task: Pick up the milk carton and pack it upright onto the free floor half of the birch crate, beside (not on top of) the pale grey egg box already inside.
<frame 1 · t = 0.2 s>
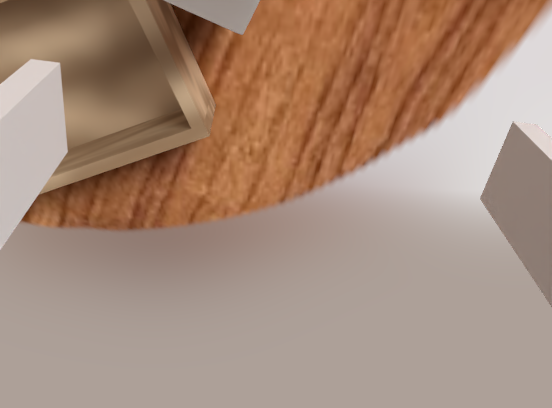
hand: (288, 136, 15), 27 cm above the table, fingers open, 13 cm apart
crate: (76, 63, 41), on the table
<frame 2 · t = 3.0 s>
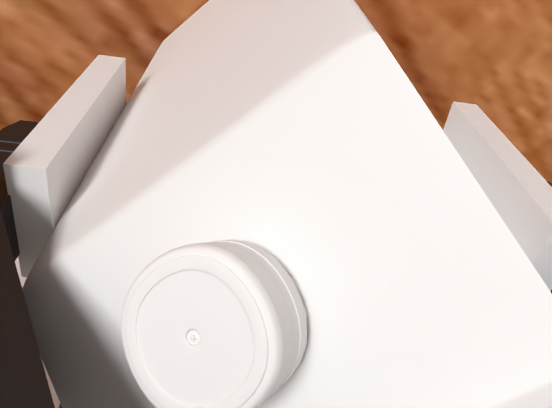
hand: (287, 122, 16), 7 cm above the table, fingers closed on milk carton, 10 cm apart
milk carton: (280, 54, 22), on the table, touching gripper
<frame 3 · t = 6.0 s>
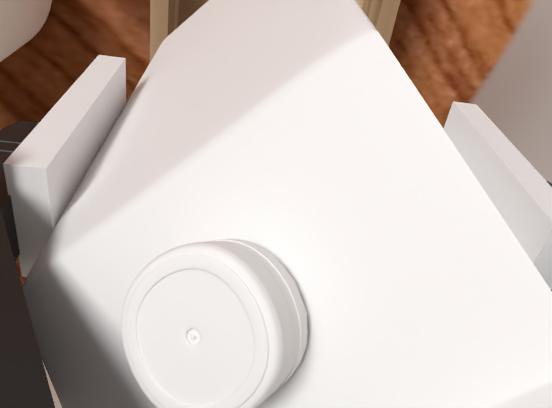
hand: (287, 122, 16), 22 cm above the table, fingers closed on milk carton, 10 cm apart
crate: (268, 25, 35), on the table
milk carton: (280, 54, 22), point 15 cm above the table, touching gripper
when the fingers open (9 cm above the table, at t = 9.2 s): milk carton stays where it is, resting on crate.
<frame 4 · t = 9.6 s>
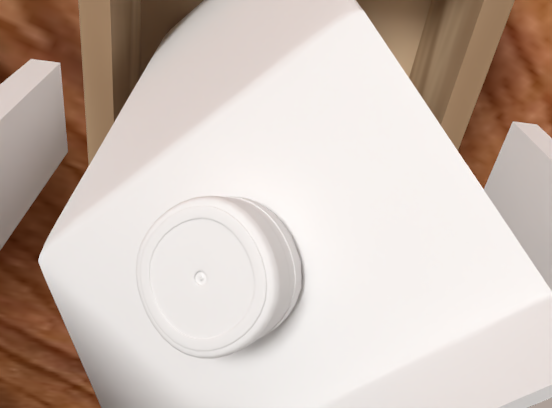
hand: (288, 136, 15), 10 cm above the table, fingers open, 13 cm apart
crate: (271, 94, 25), on the table
milk carton: (279, 47, 23), point 1 cm above the table, touching crate
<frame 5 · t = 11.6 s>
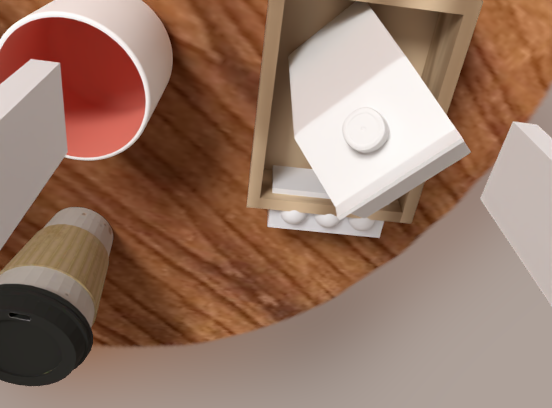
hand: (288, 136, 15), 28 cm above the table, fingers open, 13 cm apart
cup: (114, 47, 41), on the table
coffee cup: (82, 231, 51), on the table
egg box: (324, 189, 47), resting on crate
crate: (342, 87, 43), on the table
milk carton: (349, 60, 41), point 1 cm above the table, touching crate
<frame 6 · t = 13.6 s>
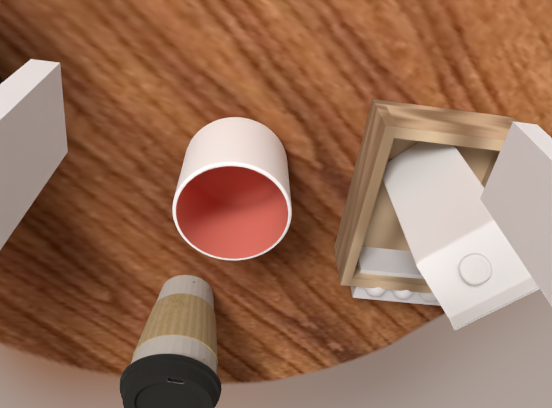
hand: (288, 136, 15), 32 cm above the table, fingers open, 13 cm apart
cup: (236, 157, 51), on the table
coffee cup: (187, 293, 61), on the table
egg box: (394, 263, 58), resting on crate
crate: (416, 188, 54), on the table
milk carton: (425, 171, 52), point 1 cm above the table, touching crate
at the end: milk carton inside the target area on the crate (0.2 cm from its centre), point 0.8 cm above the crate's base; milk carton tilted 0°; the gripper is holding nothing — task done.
